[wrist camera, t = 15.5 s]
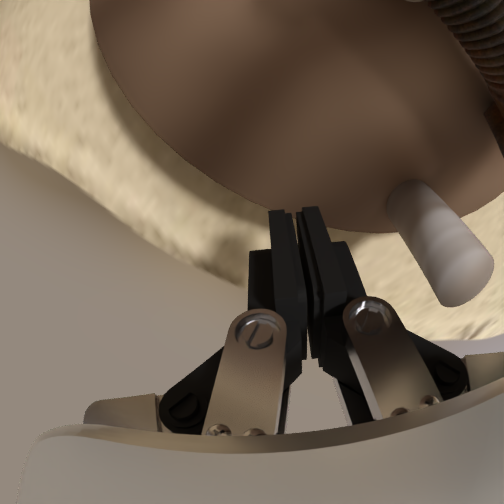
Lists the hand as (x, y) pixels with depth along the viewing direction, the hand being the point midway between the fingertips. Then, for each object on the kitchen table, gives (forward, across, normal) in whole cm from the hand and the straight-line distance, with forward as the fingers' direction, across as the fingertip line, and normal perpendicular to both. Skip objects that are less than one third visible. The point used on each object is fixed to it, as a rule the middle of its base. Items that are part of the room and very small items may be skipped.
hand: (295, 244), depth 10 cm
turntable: (+5, -5, -10) cm, 12 cm away
